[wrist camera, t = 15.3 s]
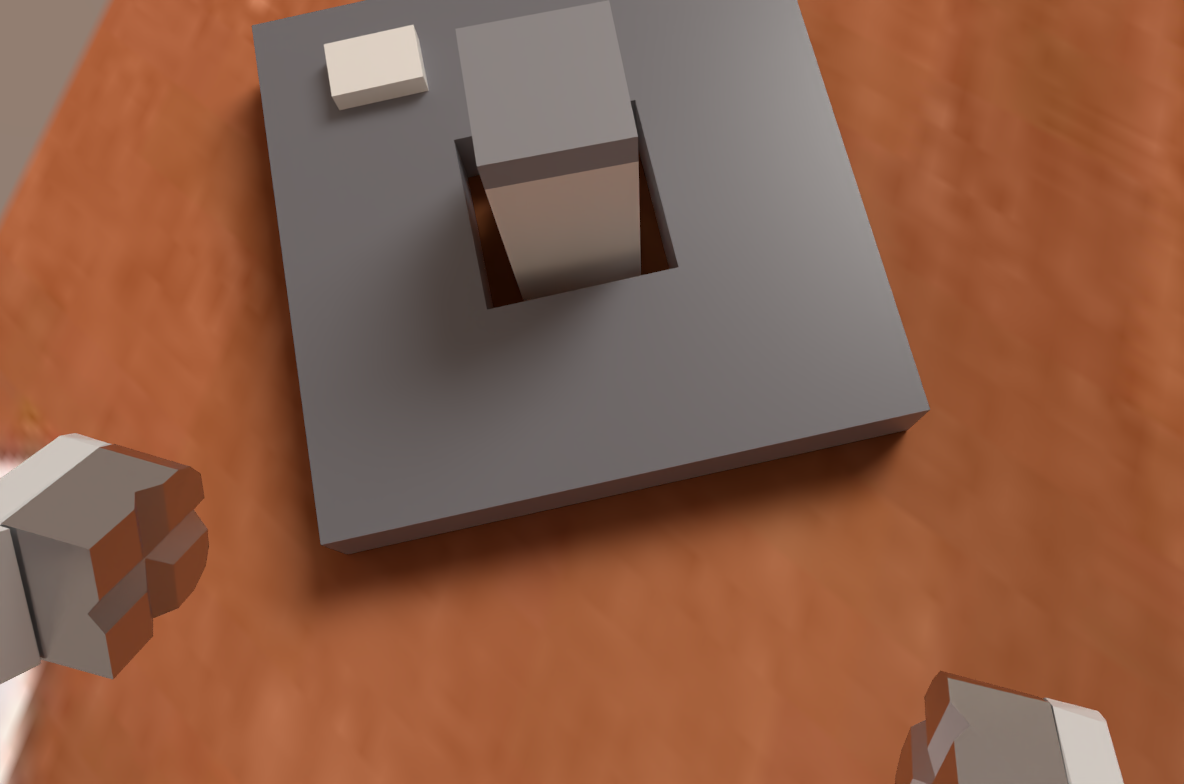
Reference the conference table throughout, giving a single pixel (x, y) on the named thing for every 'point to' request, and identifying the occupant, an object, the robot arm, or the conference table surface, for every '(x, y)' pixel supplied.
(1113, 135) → the conference table surface
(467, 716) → the conference table surface
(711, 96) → the socket plate
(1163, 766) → the conference table surface
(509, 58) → the plug
